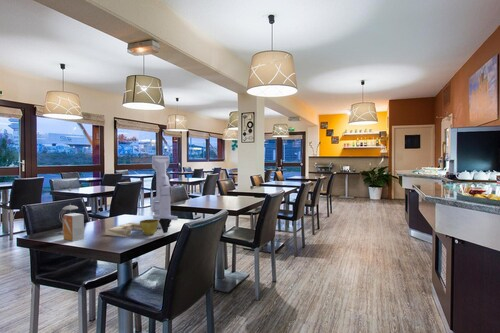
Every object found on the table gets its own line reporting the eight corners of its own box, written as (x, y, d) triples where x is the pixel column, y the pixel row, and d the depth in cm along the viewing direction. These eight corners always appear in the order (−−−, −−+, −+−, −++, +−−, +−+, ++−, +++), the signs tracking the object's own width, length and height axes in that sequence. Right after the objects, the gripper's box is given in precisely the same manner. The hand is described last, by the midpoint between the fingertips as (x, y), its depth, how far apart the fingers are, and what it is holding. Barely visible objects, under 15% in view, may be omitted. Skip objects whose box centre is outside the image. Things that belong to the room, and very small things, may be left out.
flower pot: (139, 236, 169) (139, 223, 169) (140, 232, 178) (140, 219, 178) (158, 235, 172) (158, 222, 171) (158, 231, 181) (158, 218, 181)
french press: (71, 234, 174) (70, 189, 174) (53, 233, 177) (53, 189, 176) (84, 230, 184) (83, 187, 184) (67, 229, 186) (66, 187, 186)
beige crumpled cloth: (130, 227, 191) (130, 222, 191) (150, 229, 187) (150, 224, 187) (105, 234, 172) (105, 229, 172) (126, 236, 168) (126, 231, 168)
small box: (63, 239, 163) (62, 214, 162) (75, 236, 168) (74, 212, 168) (72, 241, 159) (72, 215, 158) (84, 238, 164) (84, 214, 164)
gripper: (149, 208, 170) (149, 233, 170) (172, 209, 165) (172, 235, 165) (157, 206, 176) (157, 230, 177) (179, 207, 172) (179, 232, 172)
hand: (165, 232), depth 172 cm, fingers closed
